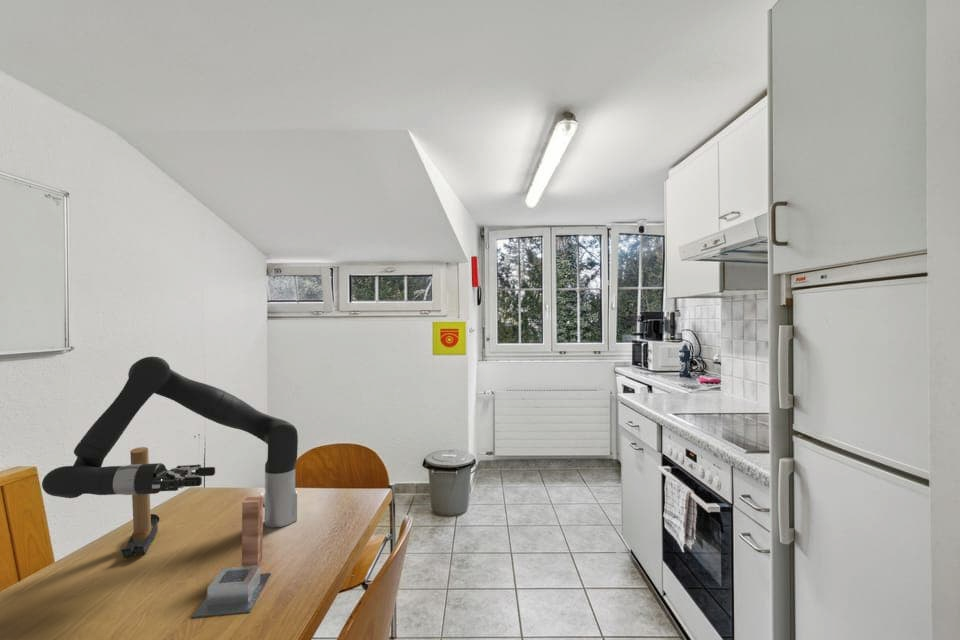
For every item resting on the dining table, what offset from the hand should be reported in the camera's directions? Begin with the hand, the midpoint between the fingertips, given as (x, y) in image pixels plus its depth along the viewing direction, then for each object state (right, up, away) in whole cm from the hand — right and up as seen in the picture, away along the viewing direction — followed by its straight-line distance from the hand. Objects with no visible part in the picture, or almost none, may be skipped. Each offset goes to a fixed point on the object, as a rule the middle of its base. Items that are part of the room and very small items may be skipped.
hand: (208, 476), depth 121 cm
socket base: (+13, -25, -11) cm, 31 cm away
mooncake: (-4, -26, +50) cm, 57 cm away
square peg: (+11, -25, +1) cm, 27 cm away
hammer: (-28, -25, +14) cm, 40 cm away
